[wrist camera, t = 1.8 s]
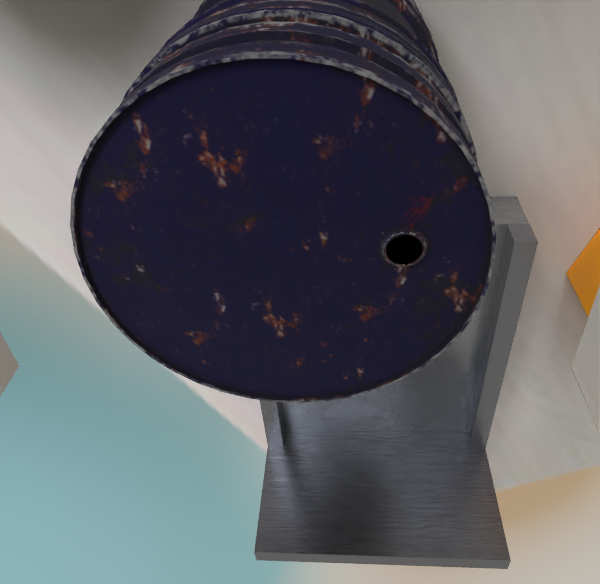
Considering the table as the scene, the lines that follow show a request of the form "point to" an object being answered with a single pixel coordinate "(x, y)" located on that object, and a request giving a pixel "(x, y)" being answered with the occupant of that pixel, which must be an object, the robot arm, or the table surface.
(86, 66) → the table surface
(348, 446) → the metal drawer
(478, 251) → the dark navy cylinder
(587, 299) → the orange juice
